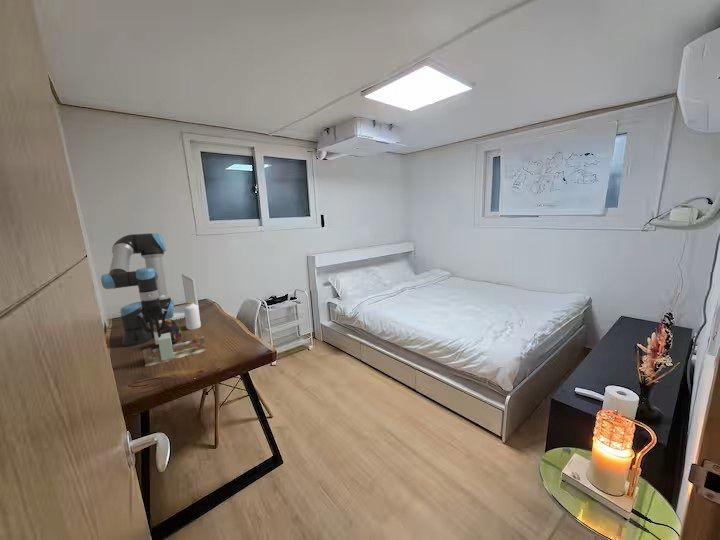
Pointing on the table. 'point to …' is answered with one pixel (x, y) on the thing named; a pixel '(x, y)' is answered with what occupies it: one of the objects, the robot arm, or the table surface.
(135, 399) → the table surface
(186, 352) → the rail
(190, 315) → the potion bottle
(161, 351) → the block
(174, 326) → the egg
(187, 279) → the laptop
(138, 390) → the table surface
